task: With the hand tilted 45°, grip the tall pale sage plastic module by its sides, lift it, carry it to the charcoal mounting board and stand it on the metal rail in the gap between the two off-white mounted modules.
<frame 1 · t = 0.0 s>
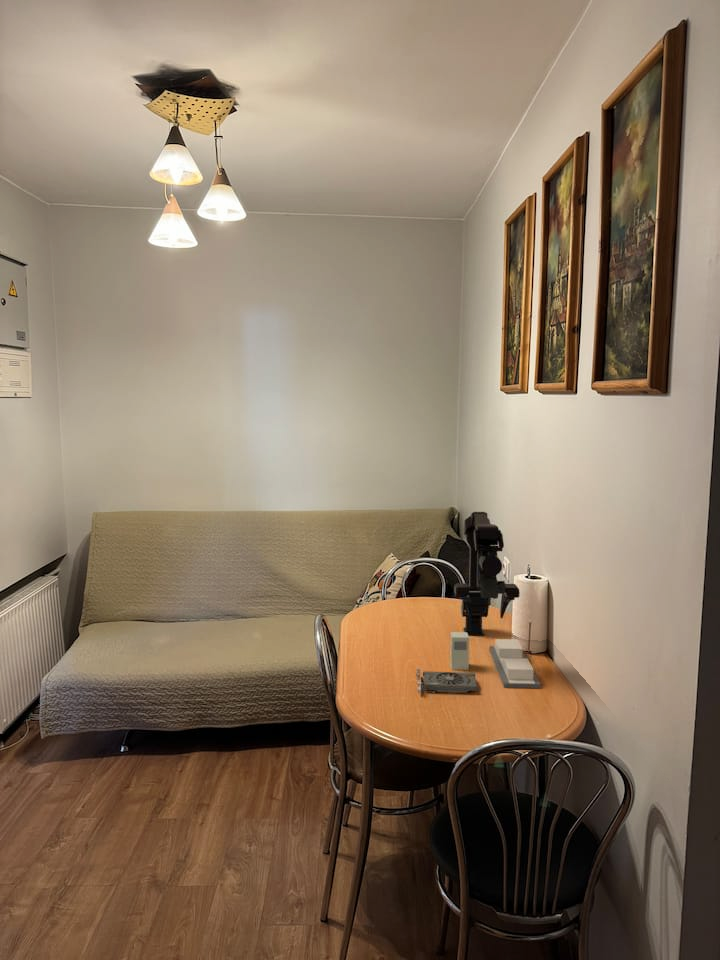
hand: (485, 618, 189), 15 cm above the table, fingers open, 9 cm apart
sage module: (459, 666, 189), on the table
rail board: (512, 667, 188), on the table
graphics card: (446, 690, 175), on the table
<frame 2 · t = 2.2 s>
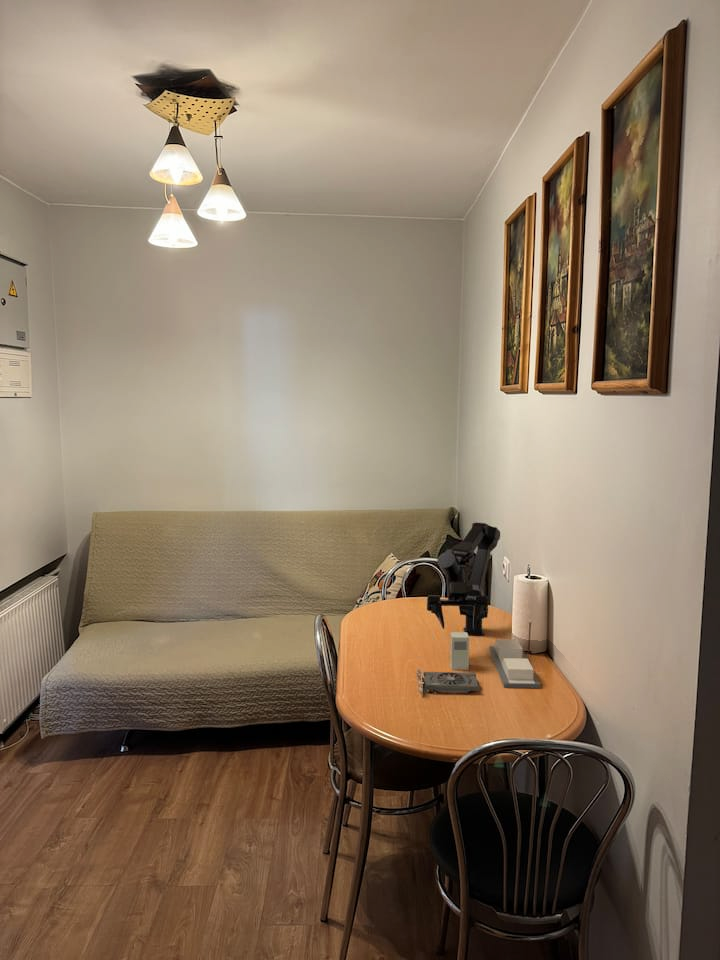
hand: (458, 628, 190), 11 cm above the table, fingers open, 9 cm apart
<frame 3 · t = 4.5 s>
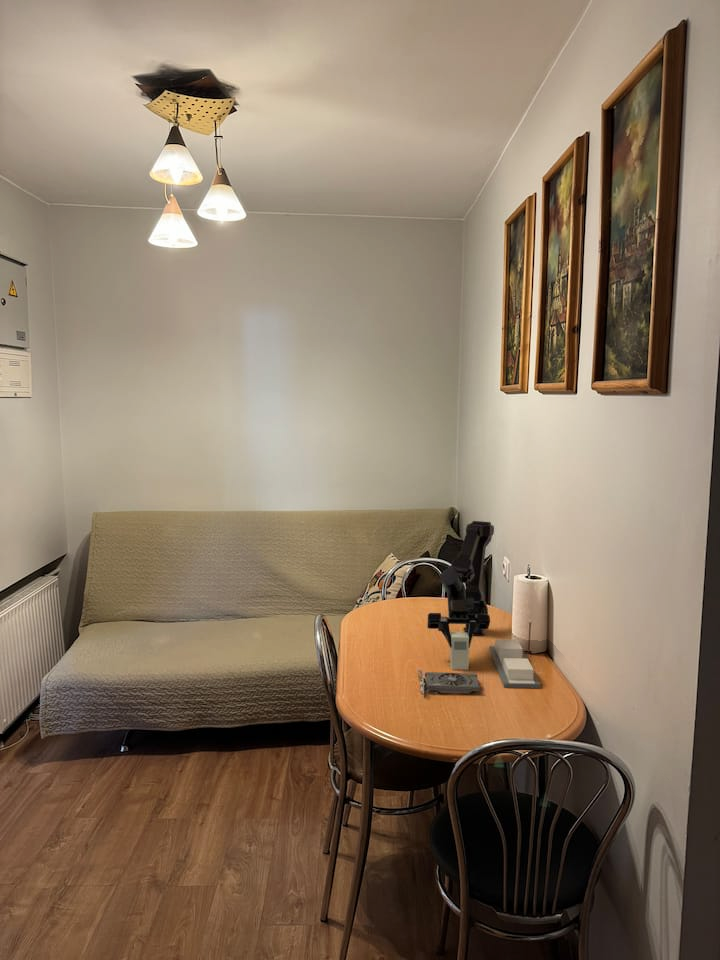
hand: (460, 647, 187), 7 cm above the table, fingers closed on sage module, 5 cm apart
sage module: (459, 666, 189), on the table, touching gripper
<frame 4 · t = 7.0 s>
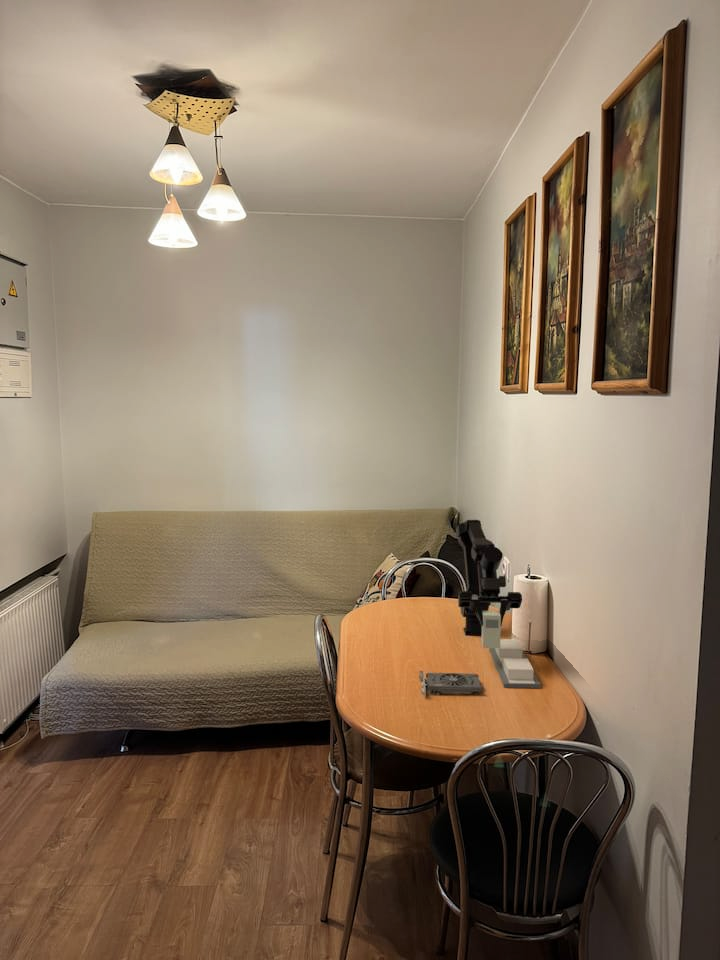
hand: (491, 625, 186), 13 cm above the table, fingers closed on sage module, 5 cm apart
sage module: (490, 645, 188), point 7 cm above the table, touching gripper
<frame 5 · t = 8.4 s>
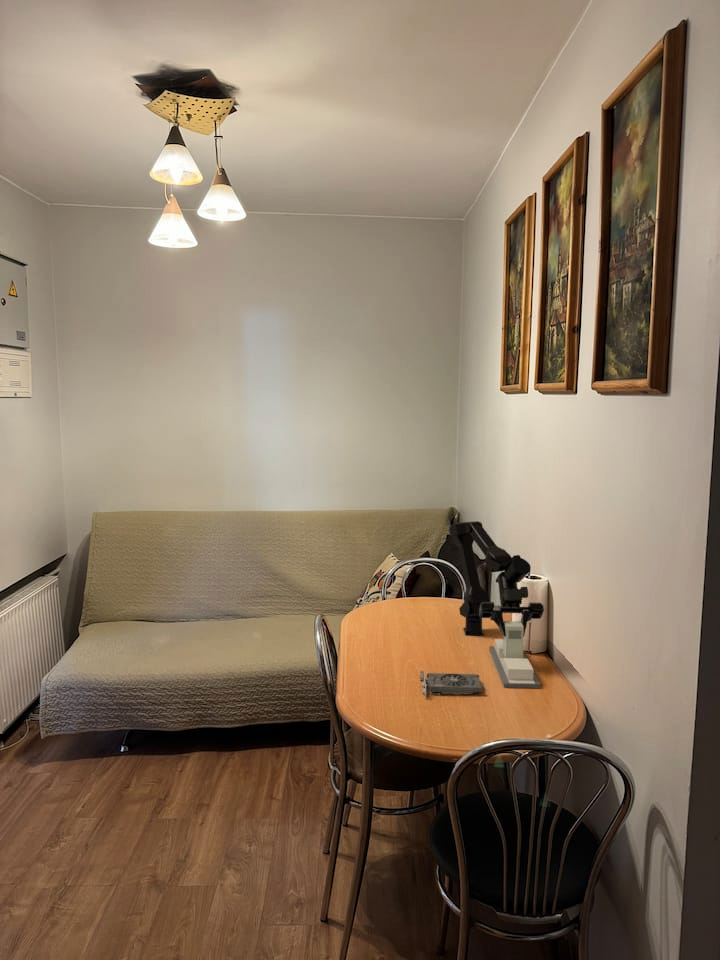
hand: (514, 636, 186), 10 cm above the table, fingers closed on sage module, 5 cm apart
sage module: (512, 656, 188), point 4 cm above the table, touching gripper
when the fingers open (9 cm above the table, at t = 9.5 s): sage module stays where it is, resting on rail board.
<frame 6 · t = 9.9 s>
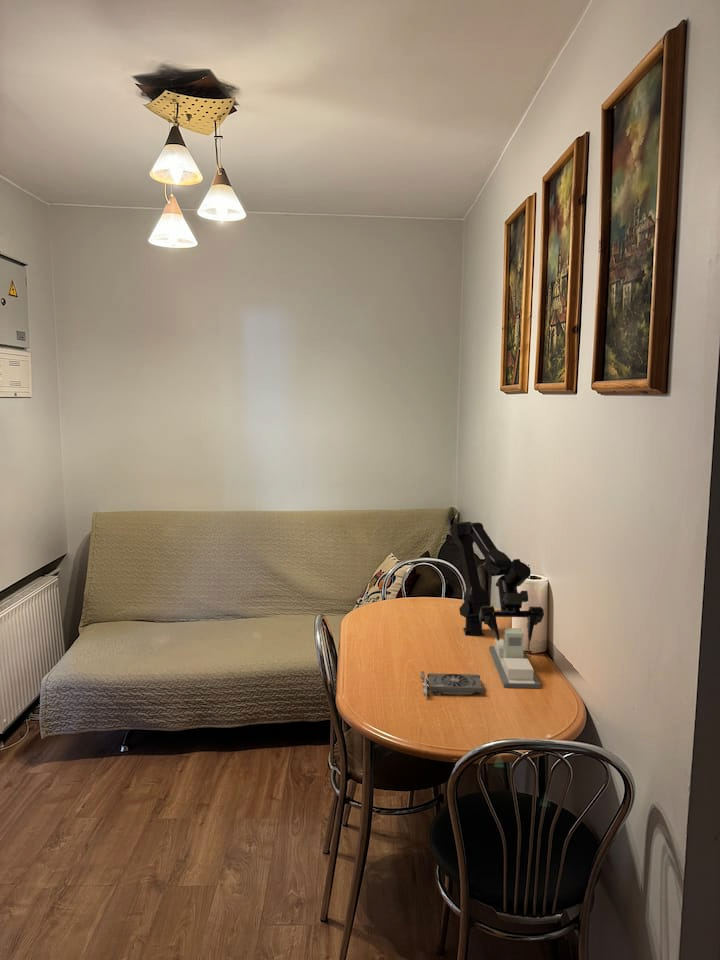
hand: (514, 640, 186), 9 cm above the table, fingers open, 9 cm apart
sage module: (512, 663, 188), point 1 cm above the table, touching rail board
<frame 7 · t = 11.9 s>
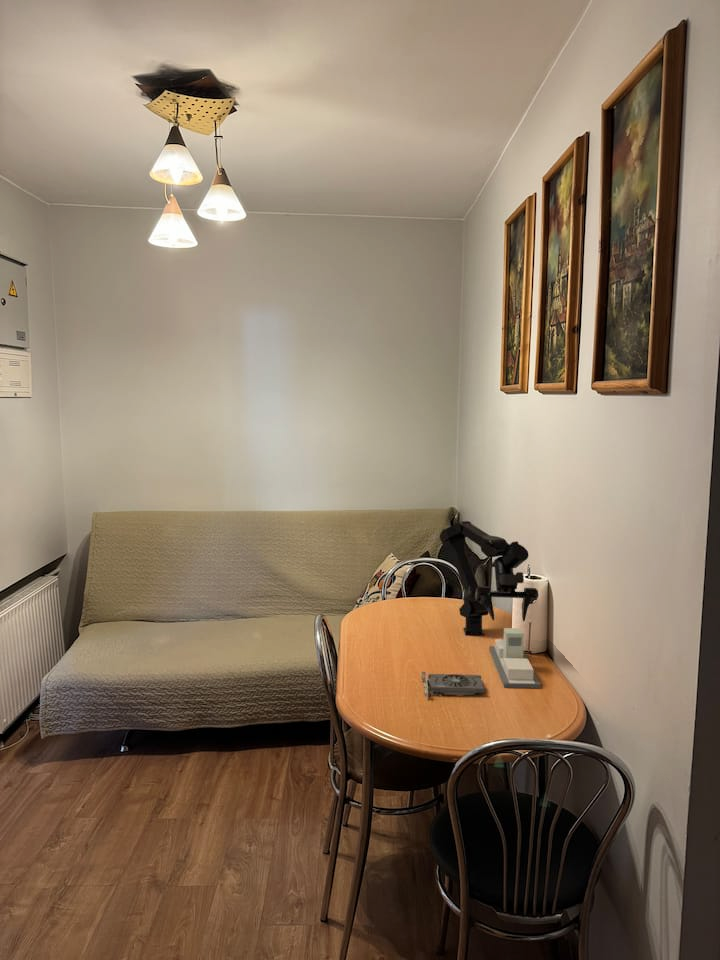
hand: (508, 620, 191), 13 cm above the table, fingers open, 9 cm apart
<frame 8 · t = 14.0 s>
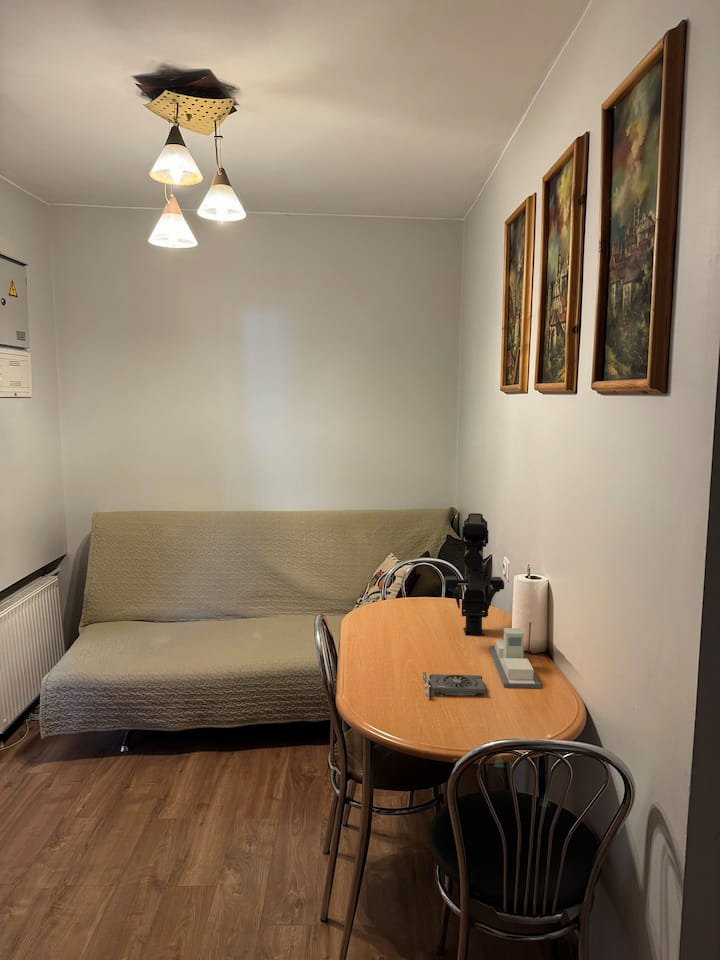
hand: (473, 608, 203), 13 cm above the table, fingers open, 9 cm apart
at the end: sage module 0.0 cm off-centre on the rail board, point 1.4 cm above the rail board's base; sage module tilted 0°; the gripper is holding nothing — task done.
